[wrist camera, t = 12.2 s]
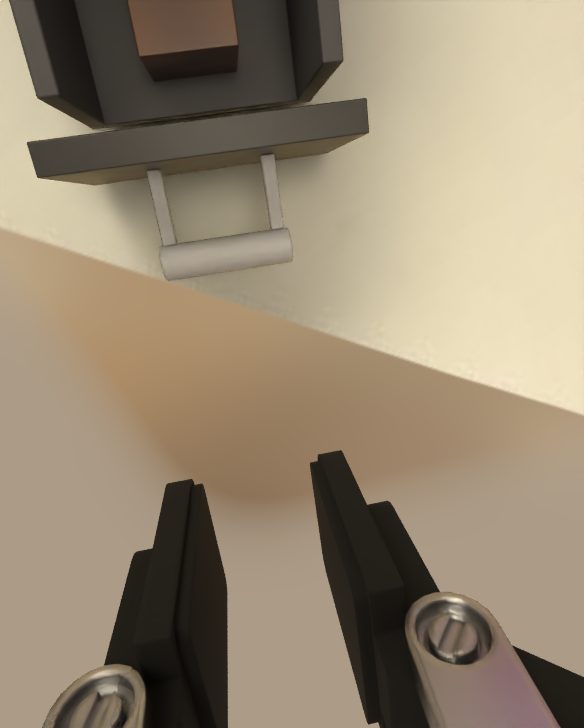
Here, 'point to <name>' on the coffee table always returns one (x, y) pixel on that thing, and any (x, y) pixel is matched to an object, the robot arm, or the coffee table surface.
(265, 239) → the pulled-out drawer
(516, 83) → the coffee table surface
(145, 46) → the block
